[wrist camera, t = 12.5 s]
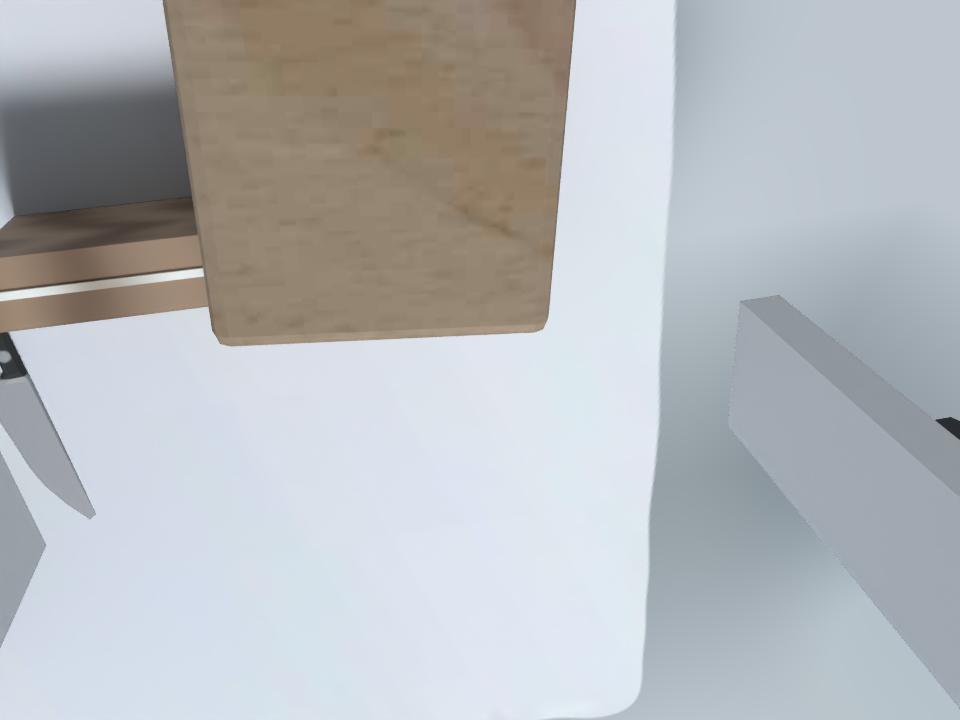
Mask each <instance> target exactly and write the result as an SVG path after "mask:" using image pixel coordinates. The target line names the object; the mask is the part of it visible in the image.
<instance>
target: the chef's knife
mask: <svg viewBox="0 0 960 720" xmlns="http://www.w3.org/2000/svg"><path fill="white" fill-rule="evenodd" d="M0 366H1V368H2V370H3V374H2V376H1V378H0V423H1V424H2V426H3V427H4V429H5V430H6V432H7V433H8V435H9V436H10V438H11V439H12V441H13V442H14V444H15V446H16V447H17V449H18V450H19V452H20V453H21V455H22V456H23V458H24V459H25V461H26V462H27V464H28V465H29V467H30V468H31V470H32V471H33V472H34V473H35V475H36V476H37V477H38V478H39V479H40V480H41V481H42V483H43V484H44V485H45V486H46V487H47V488H48V489H49V490H51V491H52V492H53V493H54V494H56V495H57V496H58V497H59V498H60V499H62V500H63V501H64V502H65V503H67V504H68V505H69V506H71V507H72V508H74V509H75V510H77V511H78V512H80V513H81V514H83V515H84V516H86V517H87V518H89V519H91V518H92V517H93V516H94V515H96V513H95V511H94V509H93V507H92V505H91V503H90V501H89V499H88V496H87V494H86V492H85V490H84V488H83V486H82V484H81V481H80V479H79V477H78V475H77V473H76V471H75V469H74V467H73V465H72V463H71V460H70V458H69V456H68V454H67V452H66V450H65V448H64V446H63V444H62V442H61V440H60V438H59V436H58V434H57V432H56V429H55V427H54V425H53V423H52V421H51V419H50V417H49V415H48V413H47V411H46V409H45V407H44V405H43V403H42V401H41V399H40V396H39V394H38V392H37V390H36V388H35V386H34V384H33V382H32V380H31V378H30V376H29V374H28V373H27V371H26V369H25V367H24V365H23V363H22V361H21V359H20V358H19V356H18V354H17V352H16V350H15V348H14V346H13V344H12V342H11V340H10V338H9V336H8V334H7V332H2V333H0Z"/></svg>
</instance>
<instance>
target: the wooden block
mask: <svg viewBox="0 0 960 720" xmlns="http://www.w3.org/2000/svg"><path fill="white" fill-rule="evenodd" d="M163 6H164V13H165V20H166V26H167V33H168V40H169V46H170V53H171V59H172V66H173V73H174V79H175V86H176V93H177V99H178V106H179V113H180V119H181V126H182V133H183V139H184V146H185V153H186V159H187V166H188V172H189V179H190V186H191V192H192V199H193V206H194V212H195V219H196V226H197V232H198V239H199V246H200V252H201V259H202V266H203V272H204V279H205V285H206V292H207V299H208V305H209V312H210V319H211V325H212V331H213V332H214V334H215V336H216V337H217V339H218V341H219V343H220V344H223V345H227V346H248V345H269V344H291V343H313V342H335V341H357V340H379V339H400V338H422V337H444V336H466V335H488V334H510V333H532V332H537V331H539V330H542V329H543V328H544V326H545V324H546V322H547V319H548V314H549V303H550V292H551V280H552V269H553V258H554V246H555V235H556V224H557V212H558V201H559V190H560V178H561V167H562V156H563V144H564V133H565V121H566V110H567V99H568V87H569V76H570V65H571V53H572V42H573V31H574V19H575V8H576V0H163Z"/></svg>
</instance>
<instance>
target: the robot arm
mask: <svg viewBox="0 0 960 720" xmlns="http://www.w3.org/2000/svg"><path fill="white" fill-rule="evenodd" d="M728 425H729V426H730V428H731V429H732V430H733V432H734V433H735V434H736V435H737V436H738V438H739V439H740V440H741V441H742V443H743V444H744V445H745V446H746V447H747V449H748V450H749V451H750V452H751V454H752V455H753V456H754V457H755V458H756V460H757V461H758V462H759V463H760V465H761V466H762V467H763V468H764V469H765V471H766V472H767V473H768V474H769V476H770V477H771V478H772V479H773V481H774V482H775V483H776V484H777V485H778V487H779V488H780V489H781V490H782V492H783V493H784V494H785V495H786V496H787V498H788V499H789V500H790V501H791V503H792V504H793V505H794V506H795V507H796V509H797V510H798V511H799V512H800V514H801V515H802V516H803V517H804V519H805V520H806V521H807V522H808V523H809V524H810V526H811V527H812V528H813V530H814V531H815V532H816V533H817V534H818V536H819V537H820V538H821V539H822V541H823V542H824V543H825V544H826V545H827V547H828V548H829V549H830V550H831V552H832V553H833V554H834V555H835V556H836V558H837V559H838V560H839V561H840V563H841V564H842V565H843V566H844V568H845V569H846V570H847V571H848V572H849V574H850V575H851V576H852V577H853V579H854V580H855V581H856V582H857V583H858V585H859V586H860V587H861V588H862V590H863V591H864V592H865V593H866V594H867V596H868V597H869V598H870V599H871V601H872V602H873V603H874V604H875V605H876V607H877V608H878V609H879V610H880V612H881V613H882V614H883V615H884V616H885V617H886V619H887V620H888V621H889V623H890V624H891V625H892V626H893V628H894V629H895V630H896V631H897V632H898V634H899V635H900V636H901V637H902V638H903V639H904V641H905V642H906V643H907V645H908V646H909V647H910V648H911V650H912V651H913V652H914V653H915V654H916V656H917V657H918V658H919V659H920V661H922V663H923V664H924V665H925V667H926V668H927V669H928V670H929V672H930V673H931V674H932V675H933V676H934V678H935V679H936V680H937V681H938V683H939V684H940V685H941V686H942V688H943V689H944V690H945V691H946V692H947V694H948V695H949V696H950V697H951V698H952V700H953V701H954V702H955V703H956V705H957V706H958V707H959V708H960V421H958V420H956V419H953V418H952V417H949V418H943V419H938V420H934V419H932V418H931V417H930V416H929V415H928V414H926V413H925V412H924V411H923V410H922V409H920V408H919V407H918V406H917V405H915V404H914V403H913V402H912V401H910V400H909V399H908V398H907V397H905V396H904V395H903V394H902V393H900V392H899V391H898V390H897V389H895V388H894V387H893V386H892V385H890V384H889V383H888V382H886V381H885V380H884V379H883V378H882V377H880V376H879V375H878V374H876V373H875V372H874V371H873V370H872V369H870V368H869V367H868V366H867V365H865V364H864V363H863V362H862V361H861V360H859V359H858V358H857V357H856V356H854V355H853V354H852V353H851V352H849V351H848V350H847V349H846V348H844V347H843V346H842V345H841V344H839V343H838V342H837V341H836V340H834V339H833V338H832V337H831V336H829V335H828V334H827V333H826V332H824V331H823V330H822V329H821V328H820V327H818V326H817V325H816V324H815V323H813V322H812V321H811V320H810V319H808V318H807V317H806V316H805V315H803V314H802V313H801V312H800V311H798V310H797V309H796V308H795V307H793V306H792V305H791V304H789V303H788V302H787V301H786V300H785V299H783V298H782V297H781V296H780V295H776V296H770V297H764V298H757V299H751V300H745V301H740V306H739V316H738V326H737V336H736V346H735V357H734V366H733V377H732V387H731V397H730V407H729V418H728ZM45 547H46V544H45V542H44V540H43V538H42V536H41V534H40V532H39V530H38V528H37V525H36V523H35V521H34V519H33V517H32V515H31V513H30V511H29V509H28V507H27V505H26V503H25V501H24V499H23V497H22V495H21V493H20V491H19V489H18V487H17V485H16V483H15V481H14V479H13V477H12V475H11V473H10V470H9V468H8V466H7V464H6V462H5V460H4V458H3V456H2V454H1V452H0V647H1V645H2V643H3V641H4V638H5V636H6V634H7V632H8V629H9V627H10V625H11V623H12V621H13V618H14V616H15V614H16V612H17V609H18V607H19V605H20V603H21V600H22V598H23V596H24V594H25V591H26V589H27V587H28V585H29V582H30V580H31V578H32V576H33V574H34V571H35V569H36V567H37V565H38V562H39V560H40V558H41V556H42V553H43V551H44V549H45Z"/></svg>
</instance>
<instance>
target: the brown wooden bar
mask: <svg viewBox="0 0 960 720" xmlns="http://www.w3.org/2000/svg"><path fill="white" fill-rule="evenodd" d="M208 306H209V305H208V299H207V292H206V285H205V279H204V272H203V266H202V259H201V252H200V246H199V239H198V232H197V226H196V219H195V212H194V206H193V199H192V197H187V198H178V199H169V200H160V201H151V202H142V203H133V204H124V205H115V206H106V207H96V208H87V209H78V210H69V211H60V212H51V213H42V214H33V215H24V216H15V217H13V218H12V219H11V220H10V221H9V222H8V223H7V224H6V225H4V226H3V227H2V228H1V229H0V333H2V332H10V331H18V330H26V329H34V328H42V327H50V326H58V325H66V324H74V323H82V322H90V321H98V320H105V319H113V318H121V317H129V316H137V315H145V314H153V313H161V312H169V311H177V310H185V309H193V308H201V307H208Z"/></svg>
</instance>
